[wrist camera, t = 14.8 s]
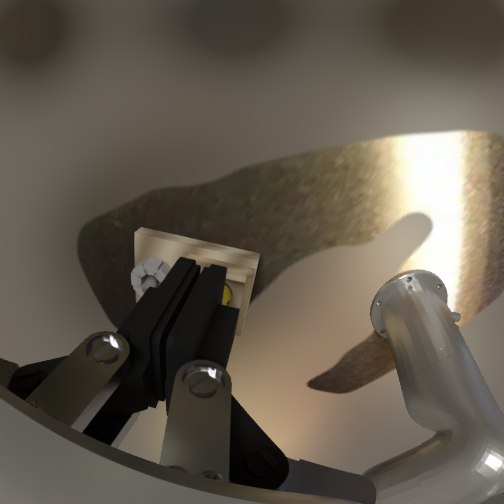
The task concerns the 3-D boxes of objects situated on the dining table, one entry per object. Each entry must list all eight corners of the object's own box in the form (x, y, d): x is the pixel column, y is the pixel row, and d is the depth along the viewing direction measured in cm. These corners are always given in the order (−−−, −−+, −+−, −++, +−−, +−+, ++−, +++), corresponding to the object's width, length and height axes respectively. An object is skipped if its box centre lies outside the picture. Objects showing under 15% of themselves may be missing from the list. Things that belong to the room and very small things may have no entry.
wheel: (176, 263, 40) (171, 270, 38) (175, 298, 43) (170, 307, 41) (137, 253, 40) (130, 260, 38) (137, 288, 43) (132, 296, 41)
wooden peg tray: (260, 253, 40) (255, 275, 35) (245, 322, 46) (239, 346, 41) (141, 227, 41) (122, 243, 36) (141, 295, 46) (126, 316, 41)
